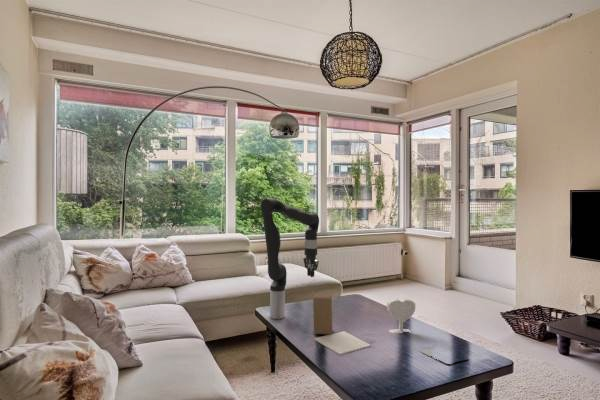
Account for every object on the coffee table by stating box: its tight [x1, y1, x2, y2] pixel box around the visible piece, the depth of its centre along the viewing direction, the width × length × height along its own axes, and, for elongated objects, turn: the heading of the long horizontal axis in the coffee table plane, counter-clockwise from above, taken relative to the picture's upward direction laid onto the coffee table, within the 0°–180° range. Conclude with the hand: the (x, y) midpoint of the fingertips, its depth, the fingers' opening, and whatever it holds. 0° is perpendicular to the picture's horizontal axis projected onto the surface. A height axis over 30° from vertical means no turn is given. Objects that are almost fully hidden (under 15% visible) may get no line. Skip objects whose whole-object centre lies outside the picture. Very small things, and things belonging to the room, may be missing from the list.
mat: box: [314, 330, 372, 356], centre depth 190 cm, size 22×20×1 cm
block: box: [312, 293, 333, 335], centre depth 204 cm, size 10×10×20 cm
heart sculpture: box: [386, 298, 416, 334], centre depth 206 cm, size 16×5×18 cm, turn 96°
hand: (310, 276), depth 215 cm, fingers open, 3 cm apart
